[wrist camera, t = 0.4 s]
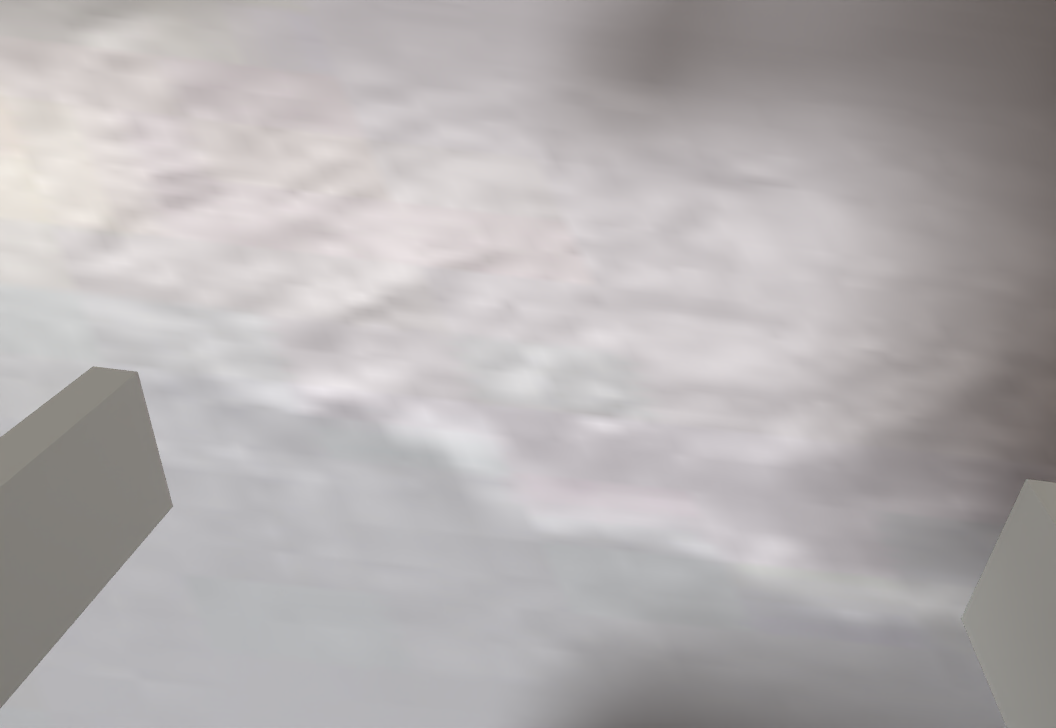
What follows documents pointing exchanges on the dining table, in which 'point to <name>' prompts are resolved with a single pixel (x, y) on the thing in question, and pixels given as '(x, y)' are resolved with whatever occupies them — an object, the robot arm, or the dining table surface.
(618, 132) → the dining table surface
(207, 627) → the dining table surface
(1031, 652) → the robot arm
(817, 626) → the dining table surface
